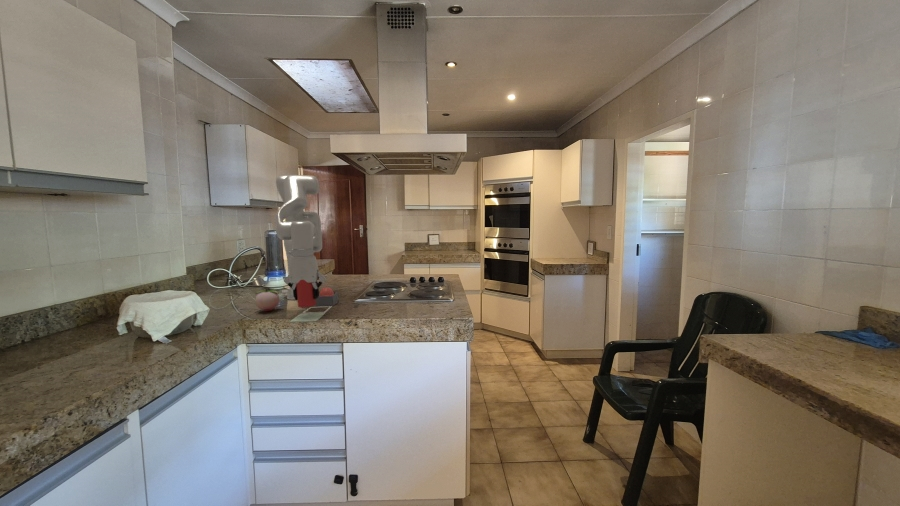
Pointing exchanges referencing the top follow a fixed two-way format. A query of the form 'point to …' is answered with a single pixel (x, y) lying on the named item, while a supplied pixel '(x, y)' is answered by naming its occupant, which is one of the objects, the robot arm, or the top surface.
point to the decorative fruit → (267, 300)
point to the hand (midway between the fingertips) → (306, 298)
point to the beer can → (305, 294)
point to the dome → (326, 292)
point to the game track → (320, 301)
